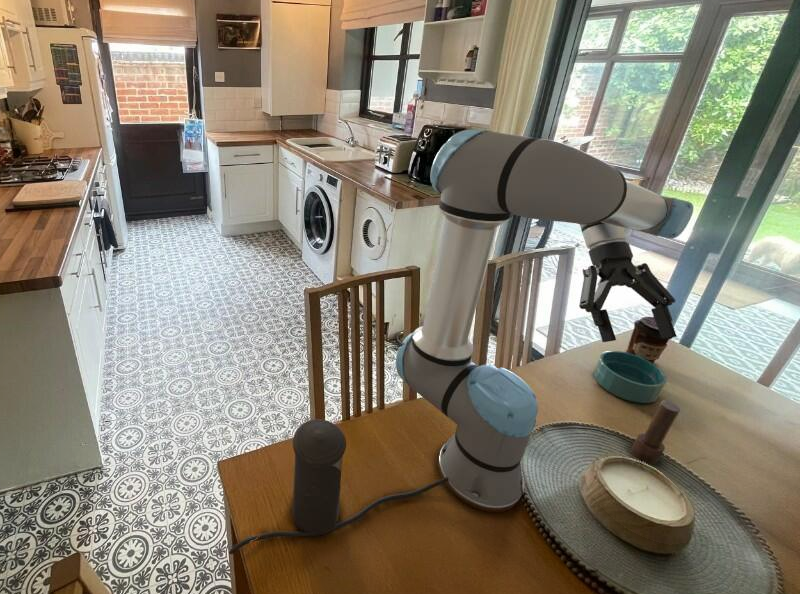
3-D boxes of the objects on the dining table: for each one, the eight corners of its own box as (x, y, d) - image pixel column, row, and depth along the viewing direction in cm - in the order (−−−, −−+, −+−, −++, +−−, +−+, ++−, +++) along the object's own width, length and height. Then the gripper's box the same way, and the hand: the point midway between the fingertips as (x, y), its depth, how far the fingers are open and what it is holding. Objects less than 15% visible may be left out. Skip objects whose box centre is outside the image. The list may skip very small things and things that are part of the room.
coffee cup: (665, 375, 108) (686, 335, 103) (630, 370, 110) (648, 330, 104) (646, 354, 116) (665, 316, 110) (614, 350, 117) (630, 312, 112)
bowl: (629, 410, 97) (638, 391, 95) (580, 373, 109) (587, 355, 106) (670, 399, 100) (680, 380, 98) (618, 364, 112) (626, 347, 109)
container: (349, 521, 73) (358, 442, 65) (308, 549, 69) (311, 469, 61) (321, 483, 80) (325, 407, 72) (281, 506, 76) (281, 429, 67)
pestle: (646, 466, 84) (674, 416, 78) (625, 449, 87) (650, 400, 81) (662, 462, 85) (691, 412, 79) (641, 444, 88) (667, 396, 82)
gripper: (643, 249, 98) (676, 338, 91) (545, 253, 96) (571, 344, 89) (673, 237, 91) (711, 333, 84) (567, 241, 89) (597, 340, 82)
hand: (639, 339), depth 86 cm, fingers open, 13 cm apart
